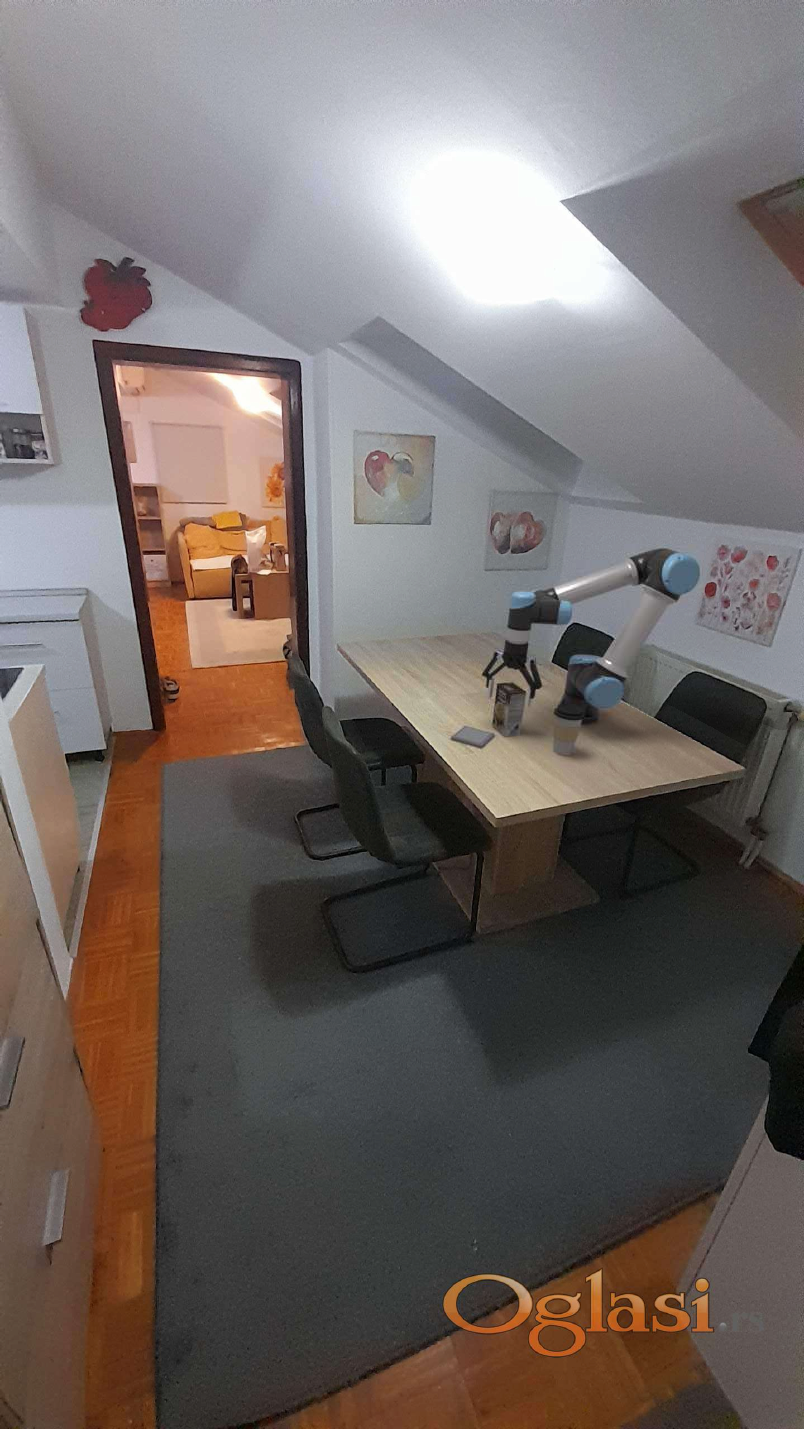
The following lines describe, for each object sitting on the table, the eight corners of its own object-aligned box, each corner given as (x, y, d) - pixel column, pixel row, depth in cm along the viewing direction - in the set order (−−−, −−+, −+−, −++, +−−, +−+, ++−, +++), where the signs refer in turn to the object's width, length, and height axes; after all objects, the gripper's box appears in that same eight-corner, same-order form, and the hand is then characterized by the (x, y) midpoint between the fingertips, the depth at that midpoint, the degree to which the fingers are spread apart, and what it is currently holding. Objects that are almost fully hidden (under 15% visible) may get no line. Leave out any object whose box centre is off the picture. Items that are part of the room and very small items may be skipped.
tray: (494, 736, 196) (494, 733, 196) (481, 748, 187) (481, 745, 187) (464, 728, 201) (465, 725, 201) (450, 739, 192) (450, 736, 192)
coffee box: (491, 726, 204) (496, 683, 197) (507, 724, 206) (512, 681, 199) (504, 737, 196) (509, 692, 189) (520, 735, 198) (527, 690, 192)
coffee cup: (555, 742, 194) (562, 700, 188) (582, 751, 189) (590, 708, 183) (542, 751, 187) (549, 708, 182) (570, 761, 182) (578, 717, 176)
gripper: (558, 645, 186) (547, 707, 194) (485, 631, 197) (478, 690, 205) (551, 651, 180) (540, 714, 188) (476, 635, 191) (469, 696, 199)
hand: (508, 702), depth 197 cm, fingers open, 13 cm apart
